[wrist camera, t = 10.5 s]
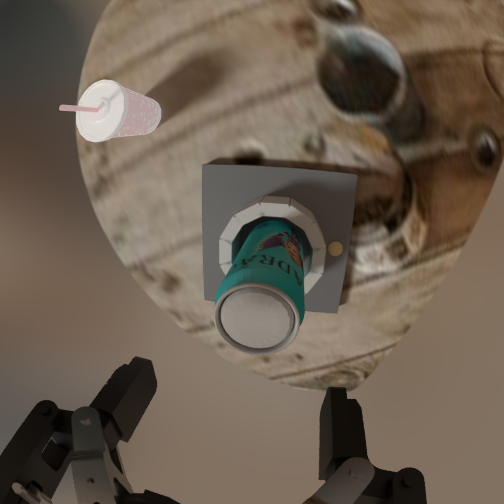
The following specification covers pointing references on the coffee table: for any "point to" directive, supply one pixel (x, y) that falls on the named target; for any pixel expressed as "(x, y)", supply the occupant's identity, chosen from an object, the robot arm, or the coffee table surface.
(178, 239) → the coffee table surface
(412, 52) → the coffee table surface
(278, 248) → the beverage can
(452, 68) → the coffee table surface
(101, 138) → the beverage cup
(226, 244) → the mount plate
